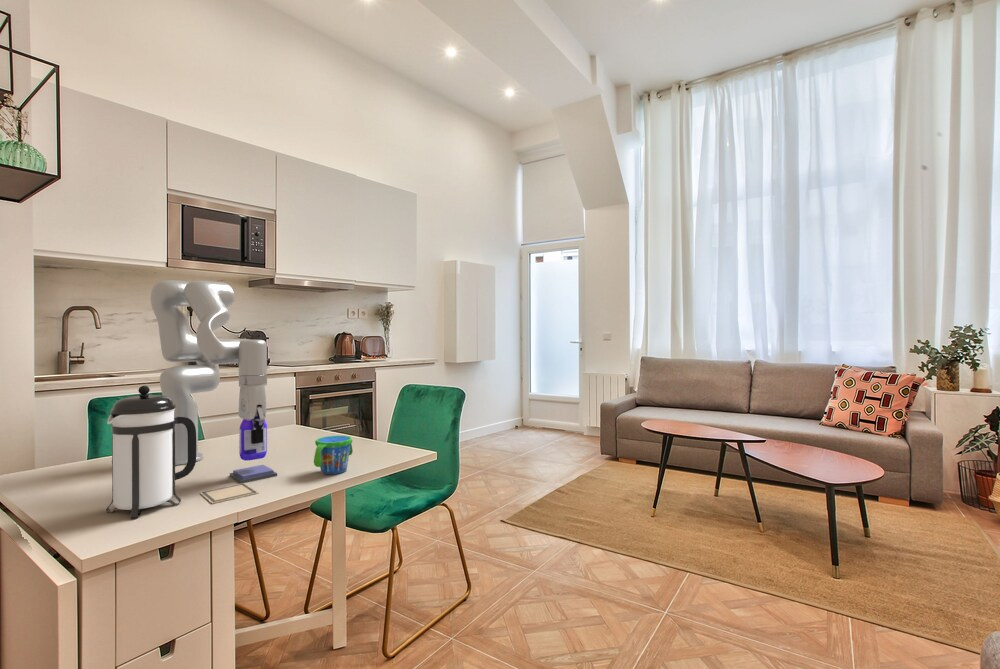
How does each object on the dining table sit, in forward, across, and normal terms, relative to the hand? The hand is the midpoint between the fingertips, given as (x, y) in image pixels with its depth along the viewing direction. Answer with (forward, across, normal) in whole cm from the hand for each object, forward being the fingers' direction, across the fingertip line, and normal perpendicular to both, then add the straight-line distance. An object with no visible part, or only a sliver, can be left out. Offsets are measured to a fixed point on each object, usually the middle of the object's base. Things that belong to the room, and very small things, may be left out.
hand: (253, 440), depth 143 cm
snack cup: (+11, +13, +19) cm, 25 cm away
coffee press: (+11, +8, -27) cm, 30 cm away
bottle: (+5, 0, 0) cm, 5 cm away
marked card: (+11, +12, -10) cm, 19 cm away
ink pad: (+10, 0, 0) cm, 10 cm away
